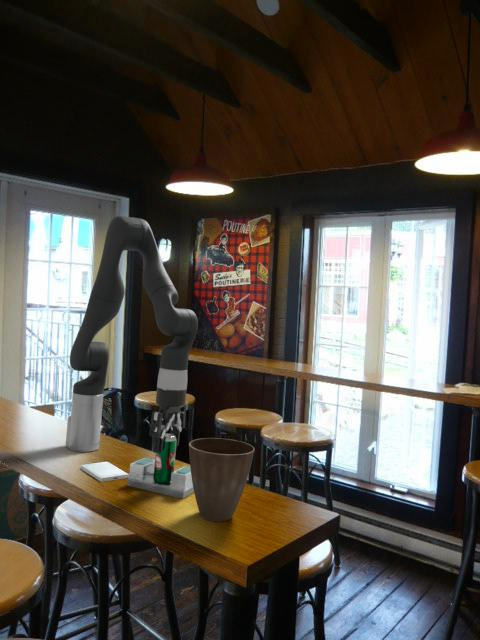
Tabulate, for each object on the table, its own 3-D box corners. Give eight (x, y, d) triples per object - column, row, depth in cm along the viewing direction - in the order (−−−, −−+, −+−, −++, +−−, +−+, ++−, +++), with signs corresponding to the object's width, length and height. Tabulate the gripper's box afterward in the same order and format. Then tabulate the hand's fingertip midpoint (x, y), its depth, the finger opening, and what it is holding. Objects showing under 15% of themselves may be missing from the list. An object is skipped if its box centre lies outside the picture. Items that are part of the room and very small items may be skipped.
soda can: (150, 478, 141) (154, 432, 141) (169, 478, 143) (173, 432, 143) (155, 485, 137) (160, 437, 136) (175, 484, 139) (179, 437, 138)
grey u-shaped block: (127, 485, 139) (129, 462, 139) (144, 477, 147) (146, 456, 147) (183, 498, 133) (185, 475, 133) (197, 489, 141) (199, 467, 141)
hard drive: (80, 464, 150) (101, 477, 140) (108, 461, 155) (129, 473, 146) (80, 470, 150) (100, 484, 140) (107, 467, 155) (129, 479, 146)
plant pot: (169, 512, 124) (175, 442, 124) (214, 499, 135) (220, 434, 135) (216, 534, 114) (223, 458, 114) (261, 518, 125) (267, 449, 125)
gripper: (172, 381, 148) (167, 441, 148) (144, 386, 134) (138, 452, 135) (197, 385, 145) (191, 446, 145) (171, 391, 132) (165, 458, 132)
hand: (166, 449), depth 140 cm, fingers open, 8 cm apart
